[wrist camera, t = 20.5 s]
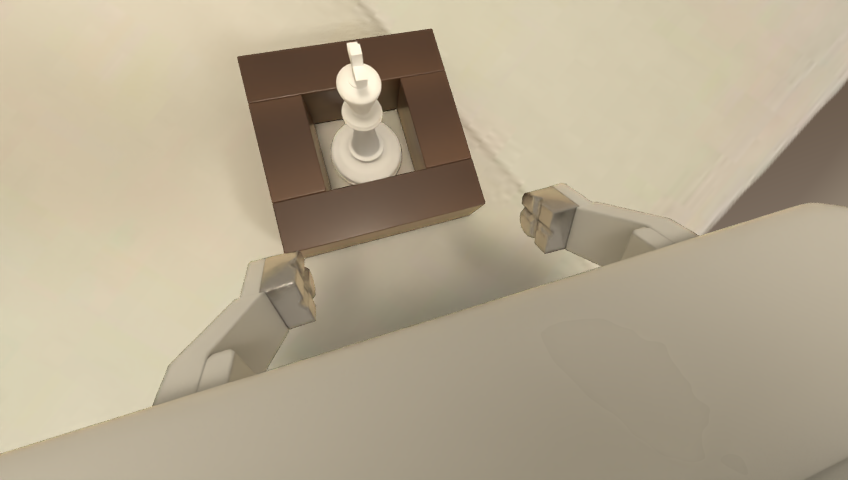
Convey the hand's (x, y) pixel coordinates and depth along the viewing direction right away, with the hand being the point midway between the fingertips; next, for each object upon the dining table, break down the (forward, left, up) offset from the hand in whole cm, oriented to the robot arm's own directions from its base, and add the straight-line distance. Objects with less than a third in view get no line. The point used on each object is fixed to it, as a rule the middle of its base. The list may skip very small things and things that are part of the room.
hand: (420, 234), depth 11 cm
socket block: (+6, -4, -10) cm, 13 cm away
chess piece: (+6, -4, -10) cm, 13 cm away
